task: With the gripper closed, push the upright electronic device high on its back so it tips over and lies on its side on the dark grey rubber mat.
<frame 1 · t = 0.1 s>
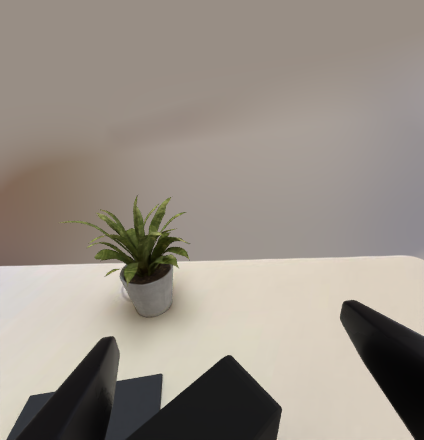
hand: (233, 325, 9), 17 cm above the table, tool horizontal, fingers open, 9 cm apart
house plant: (146, 309, 33), on the table
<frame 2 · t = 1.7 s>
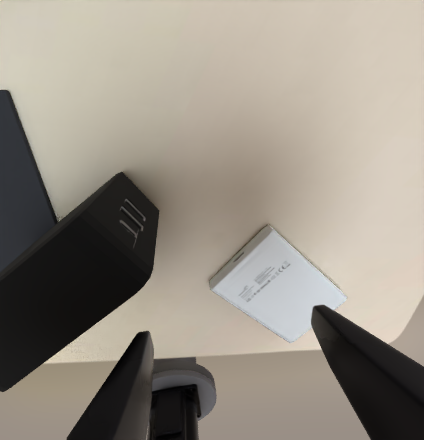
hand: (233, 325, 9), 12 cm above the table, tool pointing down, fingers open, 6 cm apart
hard drive: (276, 283, 24), on the table
electronic device: (97, 225, 19), on the table, touching mat
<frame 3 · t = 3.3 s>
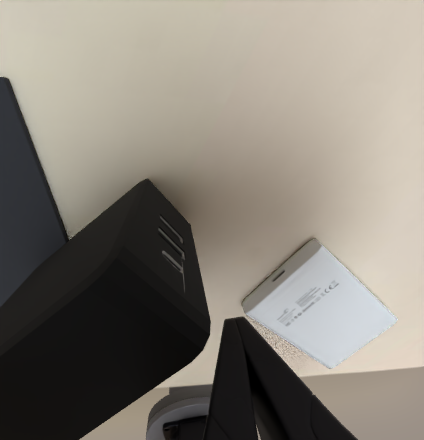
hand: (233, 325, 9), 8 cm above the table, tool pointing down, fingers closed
hard drive: (316, 303, 21), on the table
electronic device: (115, 241, 16), on the table, touching gripper, mat
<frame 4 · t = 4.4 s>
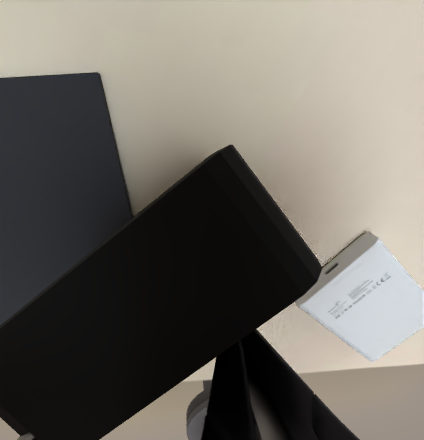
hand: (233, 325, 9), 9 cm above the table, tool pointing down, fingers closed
hard drive: (361, 296, 22), on the table
electronic device: (180, 237, 16), point 1 cm above the table, touching mat
mat: (41, 250, 16), on the table
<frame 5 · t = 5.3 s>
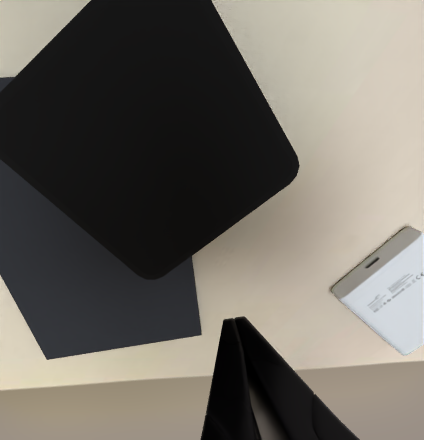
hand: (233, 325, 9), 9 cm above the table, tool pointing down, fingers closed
hard drive: (396, 291, 22), on the table
electronic device: (219, 219, 14), point 2 cm above the table, touching mat
mat: (95, 243, 16), on the table
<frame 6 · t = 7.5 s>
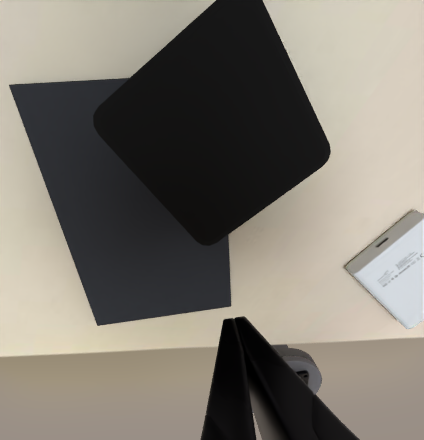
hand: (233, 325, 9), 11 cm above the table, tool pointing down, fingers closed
hard drive: (402, 270, 25), on the table
electronic device: (258, 199, 16), point 2 cm above the table, touching mat
mat: (148, 221, 19), on the table
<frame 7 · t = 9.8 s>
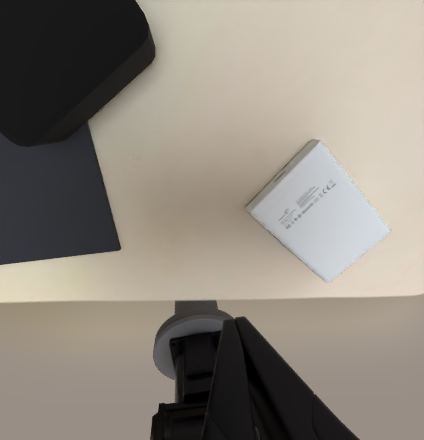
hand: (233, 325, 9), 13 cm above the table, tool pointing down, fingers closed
hard drive: (315, 215, 23), on the table
electronic device: (101, 102, 14), point 2 cm above the table, touching mat
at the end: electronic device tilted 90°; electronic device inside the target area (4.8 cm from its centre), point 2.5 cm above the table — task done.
